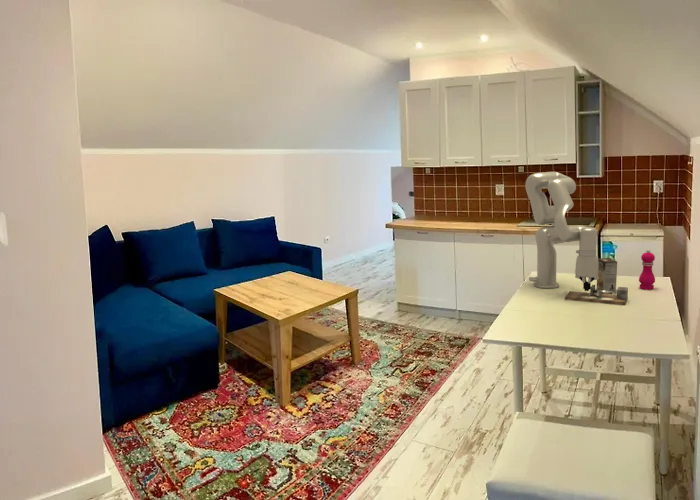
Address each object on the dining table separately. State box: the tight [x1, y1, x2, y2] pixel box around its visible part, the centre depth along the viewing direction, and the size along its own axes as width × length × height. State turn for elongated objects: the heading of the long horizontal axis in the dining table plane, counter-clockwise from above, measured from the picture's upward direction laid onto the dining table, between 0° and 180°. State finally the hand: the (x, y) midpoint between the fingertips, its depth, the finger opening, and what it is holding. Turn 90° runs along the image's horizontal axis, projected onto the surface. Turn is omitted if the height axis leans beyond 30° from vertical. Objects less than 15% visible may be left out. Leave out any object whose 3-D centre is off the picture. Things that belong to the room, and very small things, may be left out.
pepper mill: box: [638, 249, 656, 291], centre depth 273 cm, size 7×7×20 cm
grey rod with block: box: [589, 284, 614, 296], centre depth 260 cm, size 9×8×4 cm
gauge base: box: [564, 286, 629, 306], centre depth 261 cm, size 26×11×6 cm, turn 57°
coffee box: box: [596, 257, 618, 294], centre depth 273 cm, size 9×6×16 cm
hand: (586, 290), depth 264 cm, fingers closed
